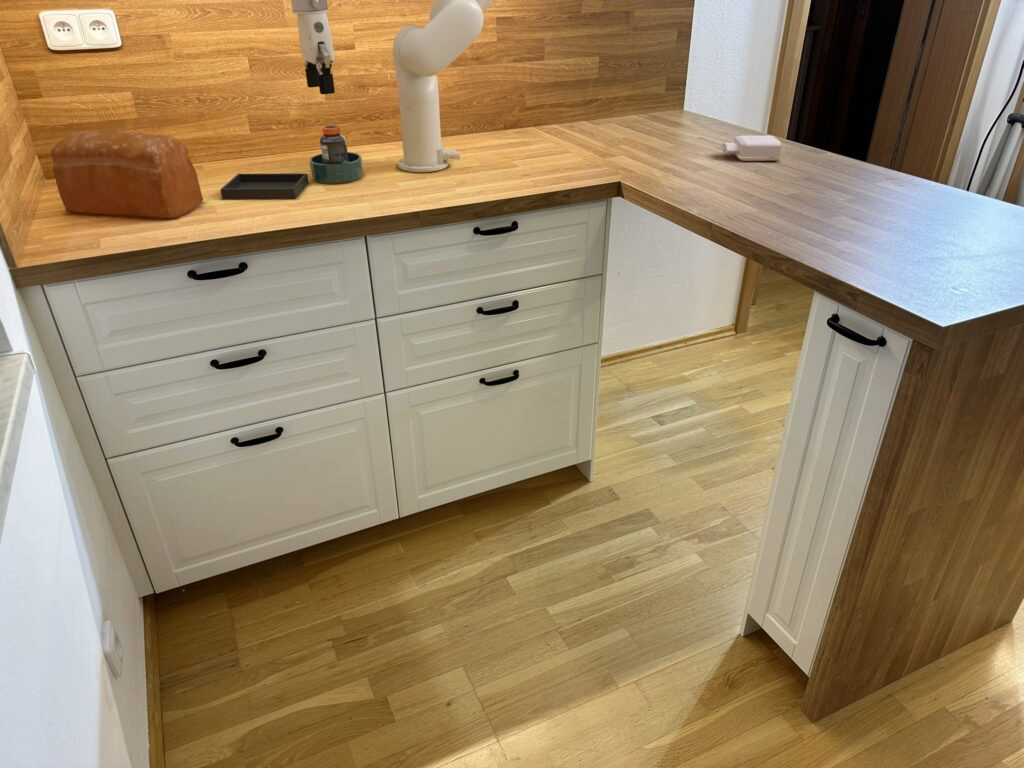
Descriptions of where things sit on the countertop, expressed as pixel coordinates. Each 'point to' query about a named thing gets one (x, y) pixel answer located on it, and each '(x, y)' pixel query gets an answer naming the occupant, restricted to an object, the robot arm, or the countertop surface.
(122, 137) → the bread
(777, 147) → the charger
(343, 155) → the pill bottle
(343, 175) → the bowl
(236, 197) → the tray
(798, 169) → the countertop surface
